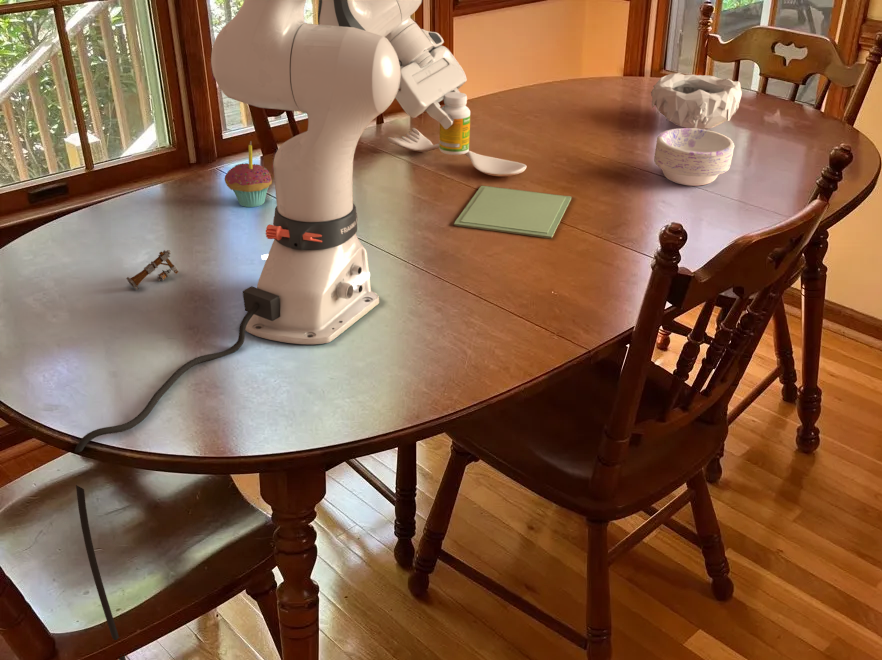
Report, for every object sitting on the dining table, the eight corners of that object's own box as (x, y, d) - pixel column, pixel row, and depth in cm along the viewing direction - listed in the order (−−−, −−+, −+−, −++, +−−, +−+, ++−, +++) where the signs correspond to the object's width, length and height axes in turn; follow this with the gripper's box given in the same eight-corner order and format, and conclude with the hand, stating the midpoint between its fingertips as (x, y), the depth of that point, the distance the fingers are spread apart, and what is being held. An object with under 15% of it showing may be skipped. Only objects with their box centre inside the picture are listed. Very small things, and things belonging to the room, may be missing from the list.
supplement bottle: (466, 156, 163) (467, 100, 157) (436, 154, 164) (437, 97, 158) (471, 147, 167) (473, 91, 161) (442, 144, 168) (443, 89, 162)
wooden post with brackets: (184, 269, 147) (170, 248, 143) (146, 301, 145) (130, 281, 141) (179, 266, 148) (164, 245, 144) (140, 297, 146) (124, 276, 142)
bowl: (746, 140, 208) (755, 95, 202) (655, 138, 208) (662, 92, 202) (725, 113, 224) (733, 70, 218) (641, 111, 224) (647, 68, 218)
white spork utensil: (413, 141, 203) (412, 125, 200) (534, 174, 187) (535, 158, 185) (386, 151, 197) (386, 135, 195) (509, 187, 181) (510, 170, 179)
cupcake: (283, 202, 173) (277, 138, 165) (246, 215, 167) (239, 149, 160) (255, 190, 177) (248, 127, 170) (218, 202, 172) (209, 137, 165)
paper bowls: (696, 197, 179) (704, 157, 174) (636, 175, 188) (641, 136, 183) (742, 180, 187) (750, 141, 182) (681, 160, 196) (688, 122, 191)
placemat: (551, 238, 162) (551, 235, 162) (453, 225, 166) (453, 222, 165) (571, 198, 177) (571, 195, 177) (481, 187, 181) (481, 184, 181)
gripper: (393, 56, 149) (447, 125, 152) (442, 31, 165) (490, 94, 168) (369, 81, 153) (422, 148, 156) (420, 54, 169) (467, 116, 172)
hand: (458, 120), depth 162 cm, fingers closed on supplement bottle, 5 cm apart
